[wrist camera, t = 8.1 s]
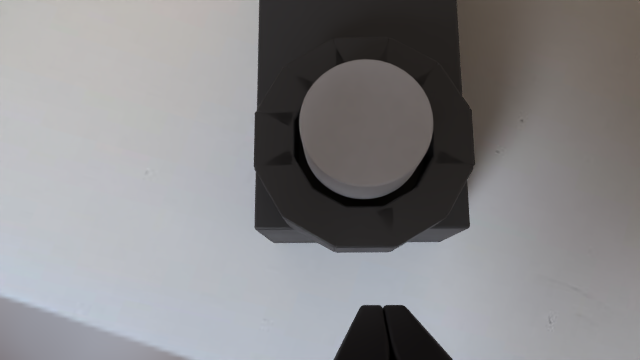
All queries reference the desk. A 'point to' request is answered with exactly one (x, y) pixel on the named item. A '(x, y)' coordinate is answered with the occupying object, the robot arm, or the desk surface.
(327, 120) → the gray round disc
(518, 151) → the desk surface
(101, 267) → the desk surface
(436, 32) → the push button base
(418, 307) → the desk surface
